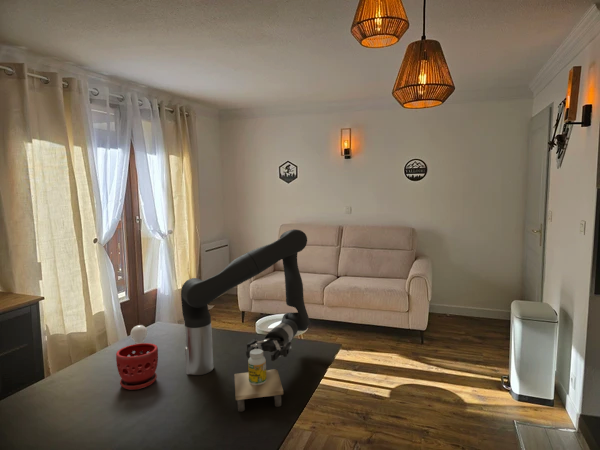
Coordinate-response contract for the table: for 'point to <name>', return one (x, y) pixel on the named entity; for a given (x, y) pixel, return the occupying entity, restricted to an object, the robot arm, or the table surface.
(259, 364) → the supplement bottle
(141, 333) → the lightbulb
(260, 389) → the peg shelf
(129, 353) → the plant pot
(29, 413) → the table surface
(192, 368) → the robot arm
